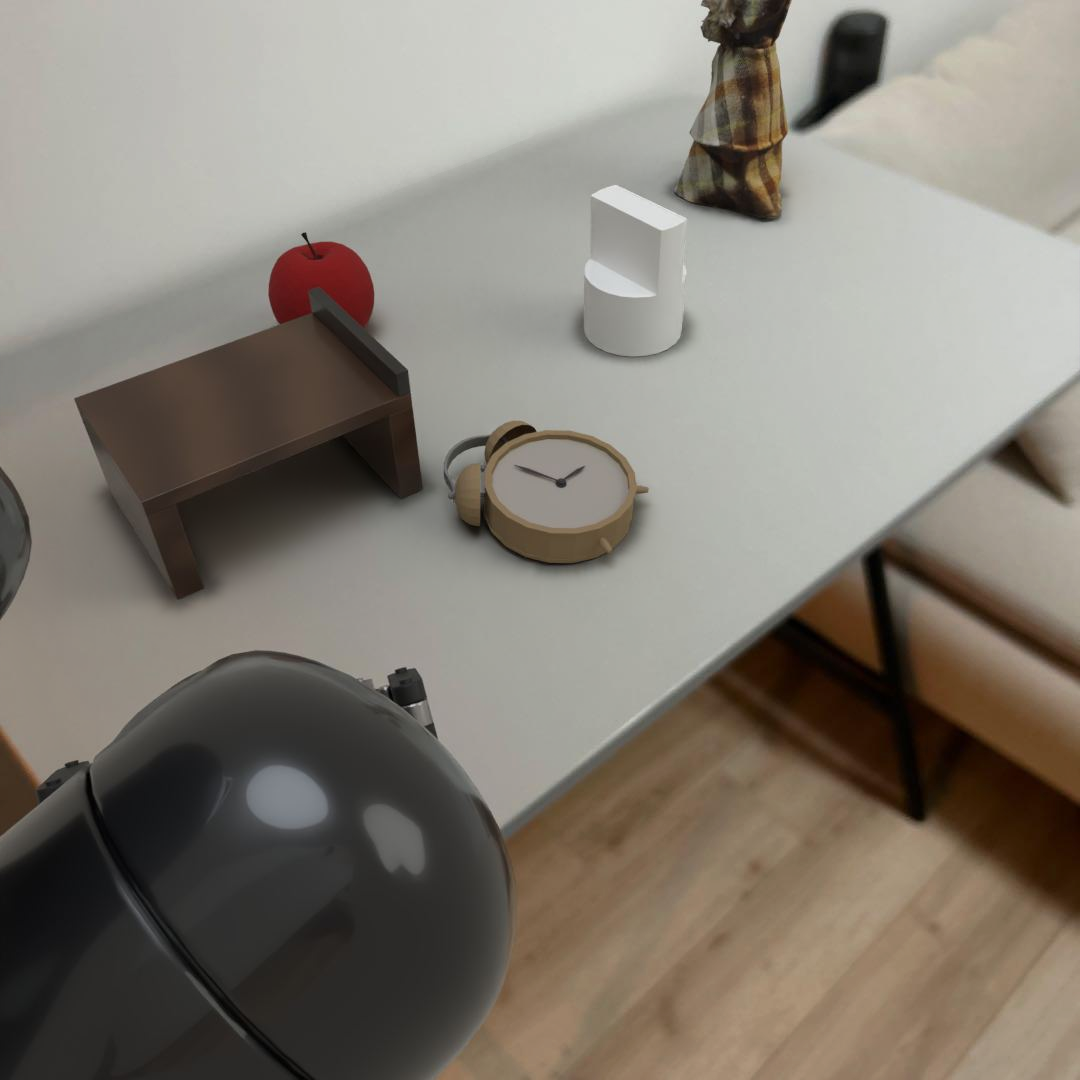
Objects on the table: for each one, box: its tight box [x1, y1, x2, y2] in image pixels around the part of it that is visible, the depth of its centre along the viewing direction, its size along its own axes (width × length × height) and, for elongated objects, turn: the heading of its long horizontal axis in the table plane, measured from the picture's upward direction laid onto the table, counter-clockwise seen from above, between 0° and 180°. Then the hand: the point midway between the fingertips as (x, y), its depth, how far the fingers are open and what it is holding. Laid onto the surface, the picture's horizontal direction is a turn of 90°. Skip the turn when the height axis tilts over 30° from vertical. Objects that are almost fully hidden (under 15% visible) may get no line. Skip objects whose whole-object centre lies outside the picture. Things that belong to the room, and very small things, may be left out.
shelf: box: [73, 287, 424, 600], centre depth 80 cm, size 20×14×11 cm
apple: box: [268, 231, 375, 329], centre depth 97 cm, size 9×9×10 cm
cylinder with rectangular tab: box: [583, 184, 688, 357], centre depth 96 cm, size 9×9×12 cm
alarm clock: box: [442, 420, 649, 564], centre depth 81 cm, size 11×5×15 cm
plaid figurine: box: [673, 0, 793, 219], centre depth 111 cm, size 14×14×25 cm
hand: (254, 731), depth 48 cm, fingers open, 8 cm apart
